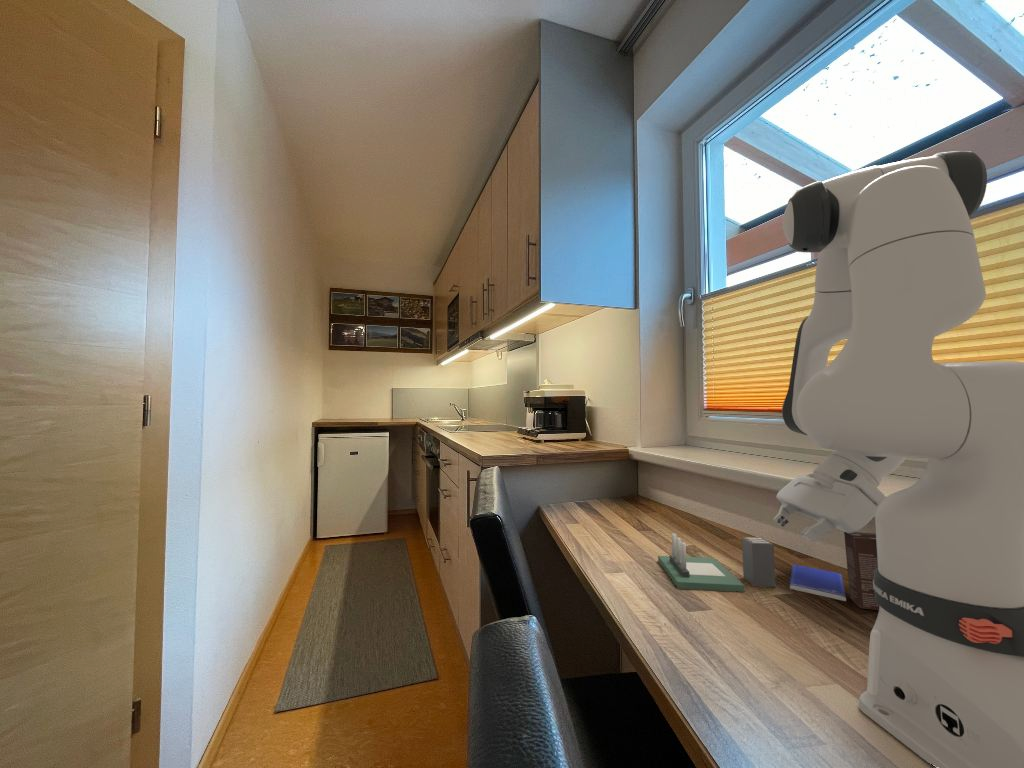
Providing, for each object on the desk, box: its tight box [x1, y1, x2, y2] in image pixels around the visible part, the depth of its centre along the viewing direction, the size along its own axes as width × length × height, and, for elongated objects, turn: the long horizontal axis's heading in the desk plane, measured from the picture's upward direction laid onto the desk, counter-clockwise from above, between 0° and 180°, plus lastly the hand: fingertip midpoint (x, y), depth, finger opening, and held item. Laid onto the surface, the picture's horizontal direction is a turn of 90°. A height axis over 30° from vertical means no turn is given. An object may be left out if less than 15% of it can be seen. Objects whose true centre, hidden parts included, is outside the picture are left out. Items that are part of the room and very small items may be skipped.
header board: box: [657, 533, 746, 593], centre depth 81 cm, size 14×12×7 cm
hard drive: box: [789, 564, 847, 602], centre depth 77 cm, size 2×8×12 cm
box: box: [843, 531, 880, 611], centre depth 68 cm, size 6×4×12 cm
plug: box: [741, 536, 776, 588], centre depth 78 cm, size 4×4×8 cm
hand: (790, 530), depth 78 cm, fingers open, 8 cm apart
